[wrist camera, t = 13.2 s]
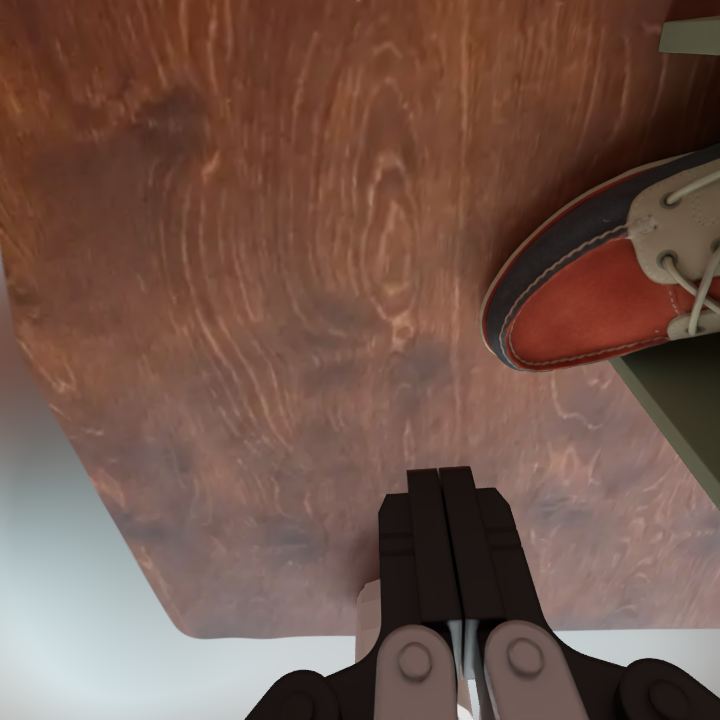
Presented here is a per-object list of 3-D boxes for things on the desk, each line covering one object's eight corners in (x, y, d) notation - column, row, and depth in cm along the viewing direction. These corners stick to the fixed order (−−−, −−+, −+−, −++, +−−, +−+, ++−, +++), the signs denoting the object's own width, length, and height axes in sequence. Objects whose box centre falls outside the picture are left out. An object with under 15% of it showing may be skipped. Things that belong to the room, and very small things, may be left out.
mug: (320, 574, 48) (309, 695, 39) (414, 543, 45) (425, 667, 36) (385, 637, 55) (388, 754, 46) (470, 614, 52) (491, 733, 43)
